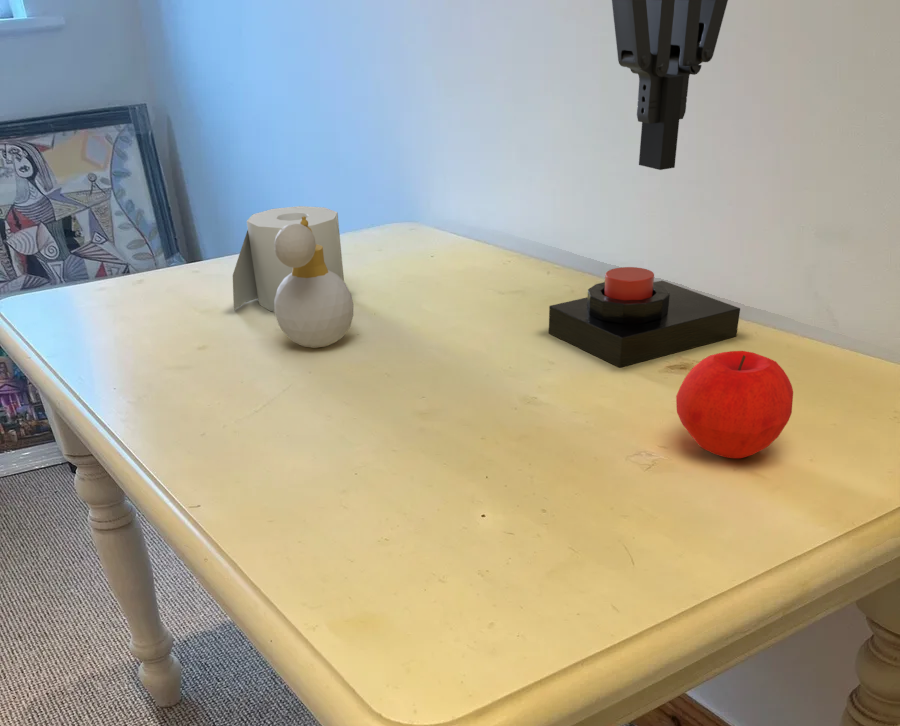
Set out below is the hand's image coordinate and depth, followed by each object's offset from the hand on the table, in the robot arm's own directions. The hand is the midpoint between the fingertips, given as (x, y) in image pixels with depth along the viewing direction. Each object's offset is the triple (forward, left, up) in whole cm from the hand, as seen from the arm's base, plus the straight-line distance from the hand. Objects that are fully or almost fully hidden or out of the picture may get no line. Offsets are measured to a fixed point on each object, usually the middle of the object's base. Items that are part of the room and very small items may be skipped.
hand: (656, 165), depth 76 cm
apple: (+7, +19, -16) cm, 26 cm away
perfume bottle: (+23, -19, -16) cm, 34 cm away
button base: (-4, -4, -16) cm, 17 cm away
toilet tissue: (+20, -34, -16) cm, 43 cm away
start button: (-2, -4, -12) cm, 13 cm away
